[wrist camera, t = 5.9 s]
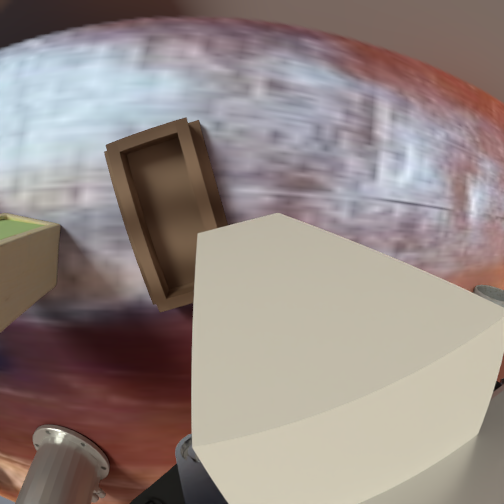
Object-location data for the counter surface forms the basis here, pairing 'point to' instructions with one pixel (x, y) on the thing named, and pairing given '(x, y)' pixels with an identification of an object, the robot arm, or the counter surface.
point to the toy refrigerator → (25, 263)
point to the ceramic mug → (490, 294)
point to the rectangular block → (330, 365)
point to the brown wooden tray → (166, 204)
